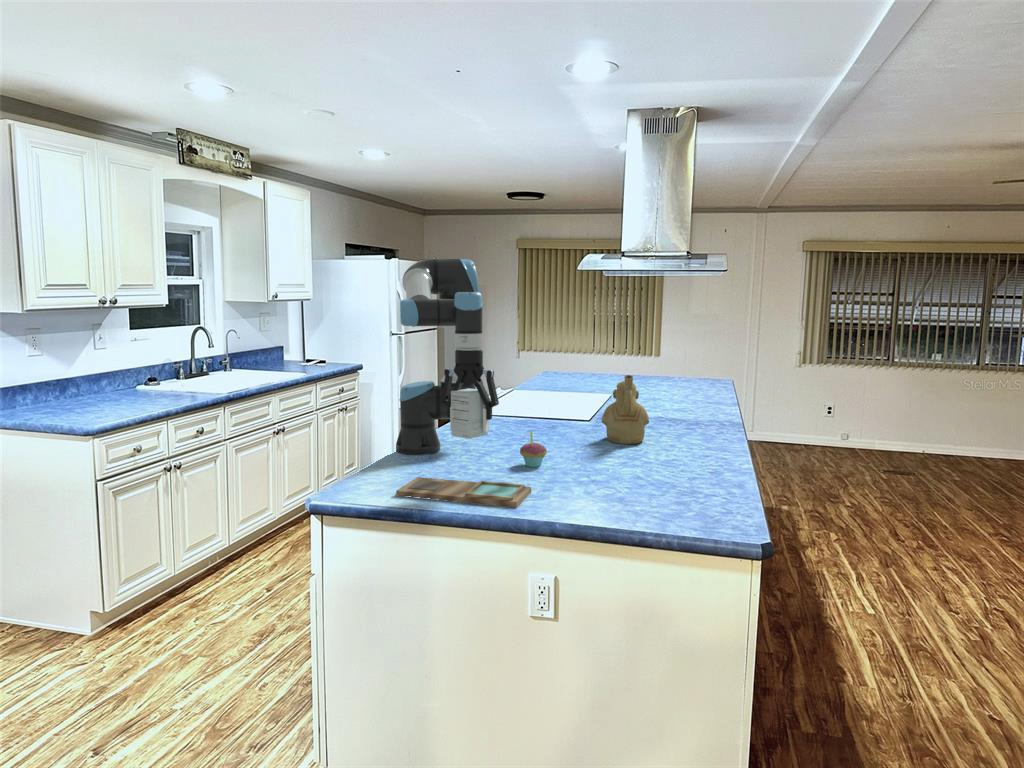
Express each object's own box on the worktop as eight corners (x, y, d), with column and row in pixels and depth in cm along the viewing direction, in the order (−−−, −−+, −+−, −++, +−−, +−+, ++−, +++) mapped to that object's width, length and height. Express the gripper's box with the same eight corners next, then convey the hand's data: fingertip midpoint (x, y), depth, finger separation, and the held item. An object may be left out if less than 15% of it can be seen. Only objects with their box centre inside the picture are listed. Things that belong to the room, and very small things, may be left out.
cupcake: (542, 469, 218) (542, 431, 216) (515, 467, 221) (515, 429, 219) (549, 463, 226) (550, 426, 224) (524, 460, 229) (524, 424, 227)
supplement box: (469, 432, 201) (468, 387, 200) (488, 435, 196) (488, 390, 195) (450, 435, 196) (449, 390, 194) (469, 439, 191) (469, 392, 189)
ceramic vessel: (646, 435, 267) (647, 369, 263) (650, 447, 247) (653, 376, 244) (600, 434, 268) (601, 369, 265) (601, 446, 249) (603, 376, 245)
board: (396, 496, 191) (396, 487, 191) (417, 482, 205) (417, 474, 204) (516, 507, 182) (516, 499, 181) (531, 492, 195) (531, 484, 195)
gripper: (426, 349, 193) (428, 430, 195) (502, 350, 186) (502, 435, 189) (437, 347, 200) (439, 425, 203) (511, 348, 193) (511, 430, 196)
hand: (469, 430), depth 196 cm, fingers closed on supplement box, 9 cm apart
